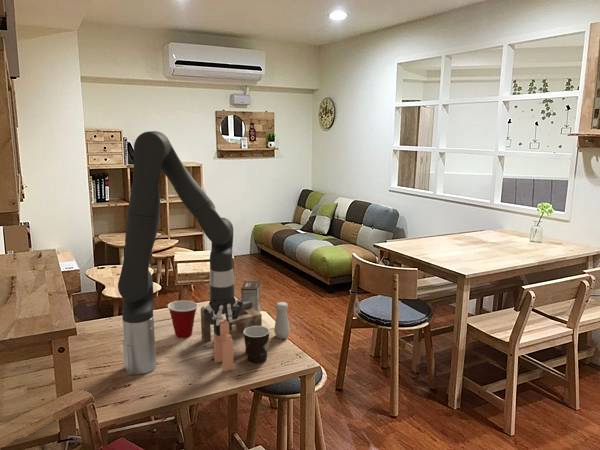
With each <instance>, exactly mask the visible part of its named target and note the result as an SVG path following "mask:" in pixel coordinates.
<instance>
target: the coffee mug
mask: <svg viewBox="0 0 600 450" xmlns="http://www.w3.org/2000/svg"><path fill="white" fill-rule="evenodd" d="M270 332H271V330H270V329H269V328H268V327H266V326H263V325H262V326H251V327H248V328H245V330H244V331H243V337H244V338H243V340H244V347H245V354H246V359H247V362H249V364H254V365H258V364H263V363H265V362H266V361H267V359H268V352H269V351H268V349H269V342H270V341H269V340H270Z"/></svg>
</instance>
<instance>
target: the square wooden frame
mask: <svg viewBox="0 0 600 450" xmlns="http://www.w3.org/2000/svg"><path fill="white" fill-rule="evenodd" d="M239 300H240V301H242V299H239ZM242 302H243V305H242V308H241V310H240V313H239V316H238V318H237V319H236V320H235V319H234V320H233V321H232V326H235V332H236V333H238V334H244V332H243V331H244V330H245V329H246V328H245V322H248V321H252V326H263V325H262V324H263V322H262V319H263V318H262V316H263V315H262V313H261V312H260V313H259V312H258V311H256V310H255V309H253V308H252V302H251V301H246V302H244V301H242ZM233 309H234V305H233V307H232V308H231V311H233ZM213 312H214V310H213V309H212V308H211V309H210V315H211V317H212V319H213V317H214V316H213ZM244 314H245V315H244ZM222 315H225V313H223V314H222ZM222 315H221V318H220V320H223V319H225V318H224V317H223V316H222ZM200 325H201V326H200V327H201V328H200V329H201V331H200V332H201V340H202V342H204V343H207V342H211V341H212V333H211V331H212V330H211V329H212V328H211V324H210V323H209V322H208V321H207V319H206V317H205V315H204V313H203V312H202V310H201V309H200Z"/></svg>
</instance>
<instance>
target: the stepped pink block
mask: <svg viewBox="0 0 600 450" xmlns="http://www.w3.org/2000/svg"><path fill="white" fill-rule="evenodd" d="M219 325H220V336H217V335H216V334H215V333H214V332H213V346H214V347H213V349H214V350H213V352H214V362H215V363H216V364H217V363H222V371H224V372H227V371H231V370H234V340H233V338H232V335H231V333H229V322H228V321H227V320H226V318H224V319H223V320H220V324H219ZM228 333H229V334H228Z"/></svg>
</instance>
